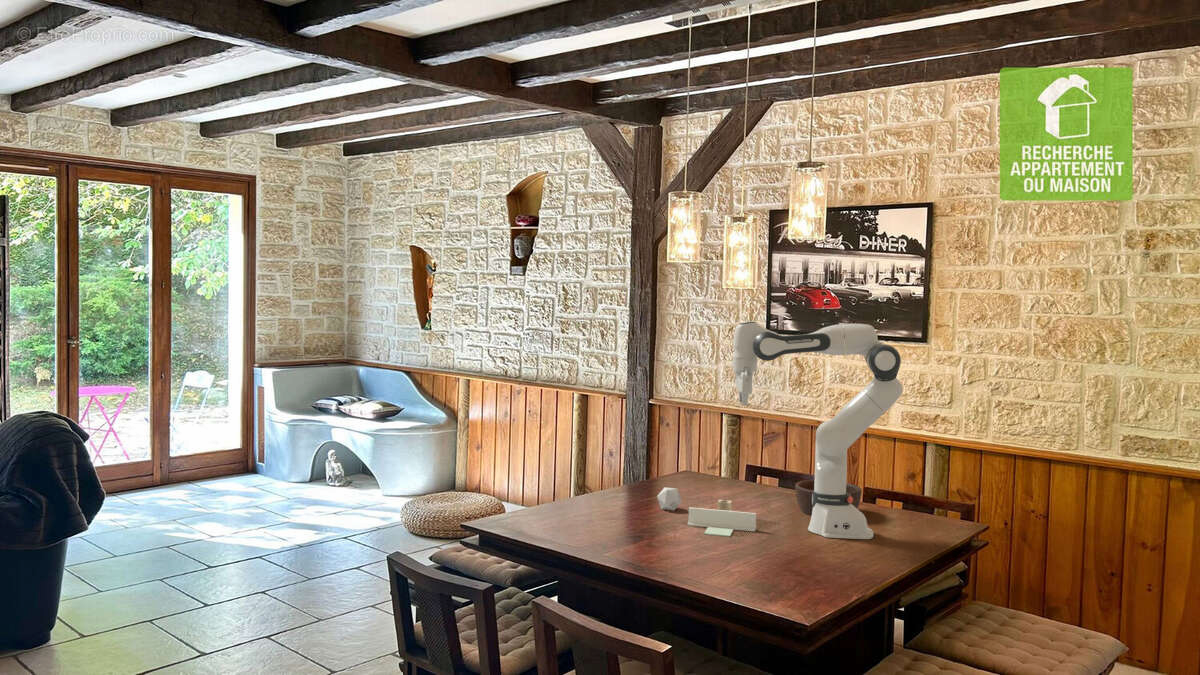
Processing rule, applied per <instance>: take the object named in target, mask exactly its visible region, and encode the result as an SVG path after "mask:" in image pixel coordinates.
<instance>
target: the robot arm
mask: <svg viewBox="0 0 1200 675" xmlns="http://www.w3.org/2000/svg"><path fill="white" fill-rule="evenodd" d="M733 332H734V334H733V340H732V342H733V343H732V344H733V345H732V346H733V355H732V365H731V366H732V371H734V378H735V379H734V381H735V387H736V388H735V389H737V391H738V399H739V403H741V405H742V406H744V407H747V406H748V402H749V401H748V400H749V396H750V395H752V392H753V376H754V372H757V371H758V359H759V360H762V361H765V362H770V361H773V360H776V359H778V358H780V357H782V356H783V355H788V354H789V355H791V354H803V353H816V354H817V353H818V354H823V355H829V356H848V355H849V356H850V355H860V356H863V357H864V359H865V362H866V366H867V367H868V369H869V370H870V371H871V372H872V374H873V376H872V379H871V381H870V382H869V383H868V384H866V386H865V387H864V388H863V389H861V390H860V391H859V392H858V393H857V394H856V395H854V396H853V397H852V398H851V399H850V400H849V401H848V402H847V403H845V405H844V406H843V407H842V408H841V409H840V410H839V411H838V413H836V414H835V416H833V417H832V418H831V419H829V420H825V421H824V422H821V423H820V424H819V426H818V427H817V429H816V431H815V432H816V433H815V456H814V458H815V460H814V465H815V466H814V480H815V482H814V490H813V494H812V506H813V510H812V515H810V520H809V524H808V527H807V530H808V532H811V533H813V534H817V535H820V536H823V537H825V538H831V539H832V538H833V539H852V540H870V539H873V537H874V531H873V529H871V528H870V527H868V522H867V518H866V516H865V514H864V513H863V512H861V511H860V510H859V508H855V507H854V506H853V505H852V504H851V503H852V502H853V498H852V496H851V495H850V494H848V493H846V483H847V479H848V478H847V477H848V476H847V475H848V449H849V448H850V447H851V446H852V445H853V444H854V443H855V442H856V441H857V440H858V439H859V438H860V437H861V436H862V435H863V434H864V433H865V432H866V431H867V429H869V428H870V427H871V426H873V424H874V423H876V422H877V420H879V419H880V418H881V417H883V415H884V414H885V413H887V412H888V411H889V410H890V409H891V408H892V407H893V406H894V405H895V403H896V402H897V401H898V400H899V399H900V397H901V396H902V394H903V385H902V383H901V382H900V381H899V379H898V378H897V376H898V375H899V374H898V373H899V370H900V367H901V363H902V360H901V359H902V358H901V355H900V353H899V351H898V350H897V349H896V348H895V347H894V346H892V345H890V344H886V343H883V342H881V341H879V339H878V332H877V331H876V329H875V327H874V326H873V325H870V324H865V323H840V324H839V323H838V324H832V325H828V326H825V327H822V328H819V329H818V330H816V331H814V332H810V333H807V334H806V333H805V334H795V335H794V334H793V335H780V334H779V333H777V332H775V331H772V330H770V329H767V328H765V327H764V326H761V324H758V322H757V321H747V322H741V323H739V324H737V325H736V326H735V328H734V331H733Z"/></svg>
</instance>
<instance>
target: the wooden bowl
mask: <svg viewBox="0 0 1200 675" xmlns="http://www.w3.org/2000/svg"><path fill="white" fill-rule="evenodd" d="M814 482H815V479H811V480H810V479H809V480H808V479H806V480H800V481H798V482H796V483H795V485H794V486H795V488H794V490H795V497H796V502H797V505H798V507H799V509H800V510H801V511H802V512H803V513H805V514H807V515H810V516H812V510H813V506H812V494H813V490H814ZM846 493H848V494H850V495H851V496H852V498H853V502H852V503H851V504H852V505H853V506H854V507H855V508H857V509H859V506H860V502H861V499H862V498H861V497H862V488H861V487H860V486H858V485H856V484H852V483H848V482H846Z"/></svg>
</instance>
